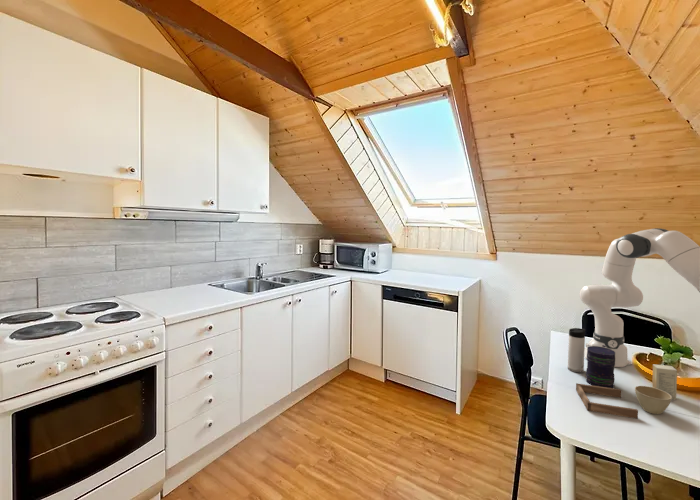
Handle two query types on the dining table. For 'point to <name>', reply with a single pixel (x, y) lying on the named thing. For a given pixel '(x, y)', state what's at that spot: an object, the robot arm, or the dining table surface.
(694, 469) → the dining table surface
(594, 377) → the storage jar
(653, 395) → the beige bowl
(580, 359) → the travel mug
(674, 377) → the skincare box
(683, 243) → the robot arm
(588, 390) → the frame
